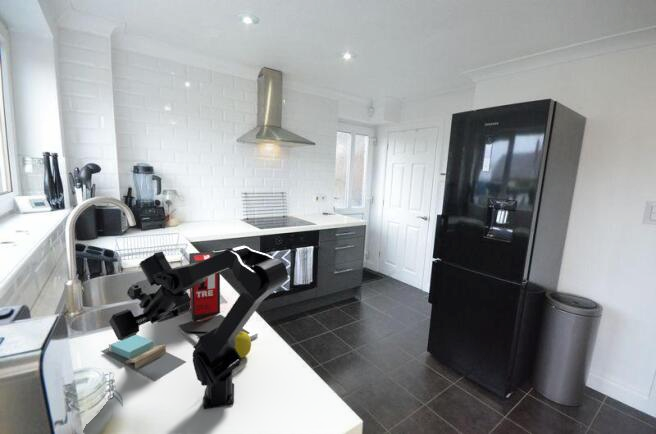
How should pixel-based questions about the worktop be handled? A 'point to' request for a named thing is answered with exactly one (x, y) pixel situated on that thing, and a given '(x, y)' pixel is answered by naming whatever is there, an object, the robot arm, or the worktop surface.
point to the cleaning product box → (205, 291)
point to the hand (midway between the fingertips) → (141, 327)
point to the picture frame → (208, 327)
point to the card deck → (131, 346)
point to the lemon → (242, 344)
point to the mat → (151, 364)
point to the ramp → (148, 356)
